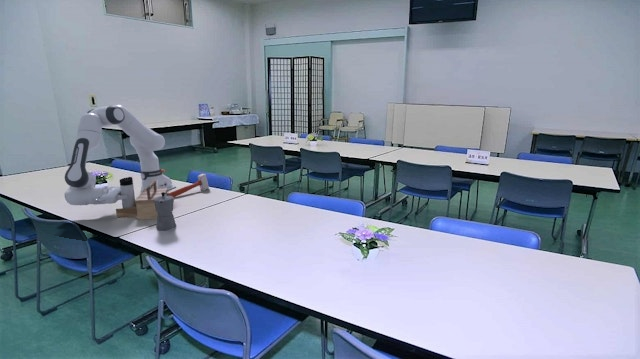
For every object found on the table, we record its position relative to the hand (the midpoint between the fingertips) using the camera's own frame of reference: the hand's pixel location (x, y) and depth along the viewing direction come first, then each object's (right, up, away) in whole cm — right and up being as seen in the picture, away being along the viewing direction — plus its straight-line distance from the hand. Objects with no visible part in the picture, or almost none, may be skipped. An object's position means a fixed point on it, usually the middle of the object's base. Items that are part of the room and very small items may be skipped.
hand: (129, 194), depth 192 cm
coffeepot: (+27, -16, -15) cm, 34 cm away
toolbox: (+5, -10, +4) cm, 12 cm away
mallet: (+16, -2, +42) cm, 46 cm away
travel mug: (-1, -11, +2) cm, 11 cm away
